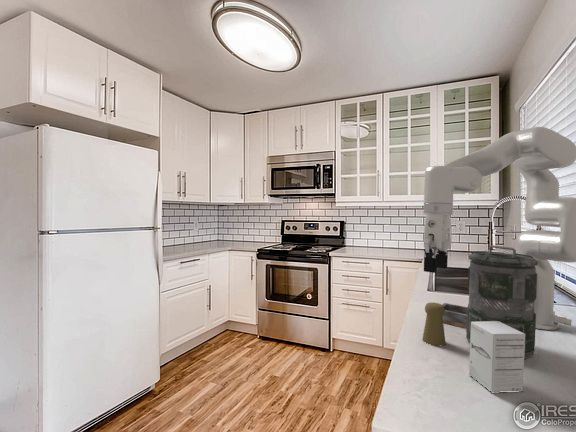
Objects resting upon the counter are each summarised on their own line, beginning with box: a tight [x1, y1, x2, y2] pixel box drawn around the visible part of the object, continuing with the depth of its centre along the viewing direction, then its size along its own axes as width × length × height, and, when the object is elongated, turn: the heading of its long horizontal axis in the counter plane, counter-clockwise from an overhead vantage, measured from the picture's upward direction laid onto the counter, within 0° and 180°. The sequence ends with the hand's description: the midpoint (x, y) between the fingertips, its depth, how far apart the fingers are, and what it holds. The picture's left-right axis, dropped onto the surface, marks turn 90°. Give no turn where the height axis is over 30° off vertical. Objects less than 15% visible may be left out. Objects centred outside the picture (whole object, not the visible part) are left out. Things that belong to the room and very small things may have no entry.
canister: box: [465, 244, 538, 359], centre depth 88 cm, size 16×16×28 cm
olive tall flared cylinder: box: [422, 302, 446, 347], centre depth 91 cm, size 6×6×11 cm
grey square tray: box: [441, 302, 468, 329], centre depth 108 cm, size 10×10×4 cm
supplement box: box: [468, 321, 525, 393], centre depth 69 cm, size 7×7×13 cm
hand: (435, 269), depth 91 cm, fingers open, 9 cm apart
